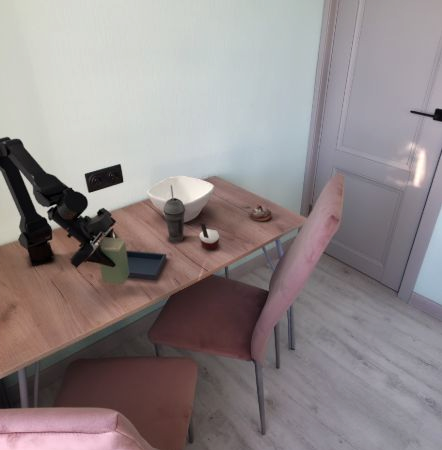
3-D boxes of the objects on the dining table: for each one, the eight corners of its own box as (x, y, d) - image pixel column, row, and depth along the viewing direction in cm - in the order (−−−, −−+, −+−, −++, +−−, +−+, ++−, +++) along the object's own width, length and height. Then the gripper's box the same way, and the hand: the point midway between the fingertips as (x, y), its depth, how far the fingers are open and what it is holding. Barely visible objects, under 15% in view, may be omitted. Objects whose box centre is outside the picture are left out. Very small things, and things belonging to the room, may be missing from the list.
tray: (156, 281, 121) (155, 275, 120) (107, 276, 123) (106, 270, 122) (166, 260, 130) (165, 253, 129) (121, 255, 133) (120, 249, 131)
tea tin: (123, 284, 113) (118, 249, 106) (102, 282, 113) (96, 247, 107) (130, 273, 117) (125, 239, 110) (109, 271, 118) (103, 236, 111)
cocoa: (212, 238, 141) (212, 208, 135) (225, 245, 138) (225, 214, 131) (192, 249, 136) (190, 218, 129) (204, 256, 132) (204, 225, 126)
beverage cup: (170, 246, 137) (166, 193, 127) (163, 236, 143) (158, 185, 132) (190, 241, 140) (187, 188, 129) (182, 231, 146) (178, 180, 135)
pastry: (246, 216, 155) (247, 204, 153) (260, 210, 160) (260, 198, 157) (262, 223, 150) (262, 212, 148) (275, 217, 155) (276, 205, 152)
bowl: (222, 211, 159) (221, 184, 152) (188, 236, 143) (187, 207, 137) (177, 198, 169) (175, 172, 163) (141, 220, 153) (138, 192, 147)
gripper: (72, 223, 96) (122, 265, 100) (104, 190, 111) (146, 227, 115) (49, 247, 101) (98, 286, 105) (83, 213, 116) (124, 248, 121)
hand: (118, 260), depth 112 cm, fingers closed on tea tin, 5 cm apart
